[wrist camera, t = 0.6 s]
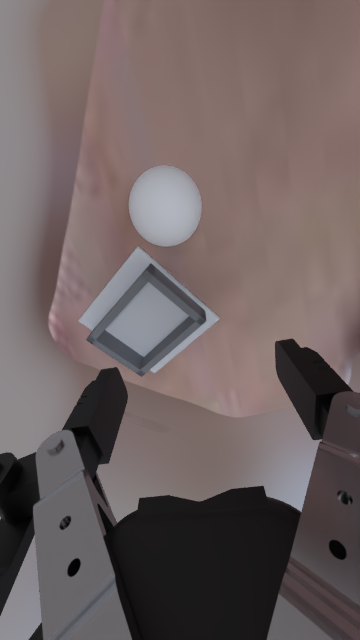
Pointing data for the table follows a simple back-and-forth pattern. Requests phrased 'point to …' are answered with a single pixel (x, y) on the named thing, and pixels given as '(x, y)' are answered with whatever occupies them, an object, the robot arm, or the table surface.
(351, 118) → the table surface
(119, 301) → the grey flat square tray
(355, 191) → the table surface
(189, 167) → the table surface
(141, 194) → the lightbulb
